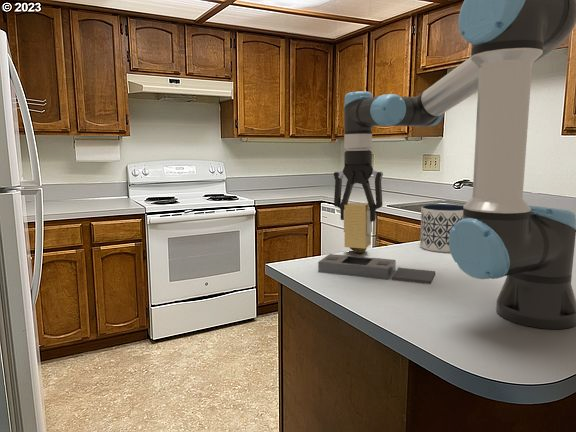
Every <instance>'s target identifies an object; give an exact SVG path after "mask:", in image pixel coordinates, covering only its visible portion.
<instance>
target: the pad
mask: <svg viewBox="0 0 576 432" xmlns="http://www.w3.org/2000/svg"><path fill="white" fill-rule="evenodd" d="M435 275H436V270H427V269H426V270H425V269H417V268H416V269H415V268H407V267H398V268H397V270H395V271H394V272H393V274H392V275H391V280H392V281H399V282H408V283H418V284H424V285H425V284H427V285H431V284H432V281H433V279H434V277H435Z"/></svg>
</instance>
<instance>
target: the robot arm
mask: <svg viewBox="0 0 576 432" xmlns="http://www.w3.org/2000/svg"><path fill="white" fill-rule="evenodd" d="M575 26H576V0H464V1H463V3H462V4H461V8H460V12H459V15H458V30H459V33H460V35H461V36H462V38H463V40H464V41H466V42H467V43H469V44H471V48H470V49H471V50H470V56H469V58H467V59H466V60H465V61H463V62H461V64H459V65H458V66H456V67H455V68H454V69H452V70H451V71H450V72H448V73H446V75H444V76H443V77H441V78H440V79H439V80H437V81H436V82H435V83H433V84H432V85H431V86H430V87H428V88H427V89H425V90H423V91H422V92H421V93H420V94H418V95H417V96H400V95H399V94H396V93H389V94H388V93H385V94H381V95H378V96H373V94H372V92H370V91H351V92H347V93H346V94H345V96H344V103H343V105H344V106H343V123H344V124H343V126H344V127H343V128H344V131H343V132H344V140H343V141H344V143H343V144H344V145H343V147H344V149H345V151H344V152H343V153H344V154H343V155H344V159H343V160H344V163H343V164H344V166H343V169H342V170H340V171H335V172H333V177H334V197H333V199H334V200H333V206H334V207H335V208H338V209H340V220H341V221H343V233H345V221H344V205H345V204H348V203H349V200H350V196H351V194H352V190H353V187H354V185H355V184H359V185H361V186H362V188H363V190H364V194H365V197H366V201H367V203H368V204H369V208H370V209H369V210H367V234H370V233H371V234H372V233H373V222H375V221H376V220H377V217H376V211H377V209H380V208H382V207H383V192H382V191H383V190H382V189H383V188H382V179H383V175H384V173H383V171H377V170H374V168H373V165H372V163H373V152H372V150H371V149H372V148H373V146H372V145H373V127H374V128H375V127H421V128H426V127H432V126H437V125H438V124H439V123H441V120H442V119H443V118H444V116H445V113H446V112H447V111H449V110H451V109H453V108H454V107H456V106H458V104H460V103H462V102H463V101H465V100H467V99H468V98H470V97H472V96H473V95H475V94H477V100H476V101H477V104H476V105H477V106H476V123H475V141H474V142H475V143H474V159H473V160H474V161H473V175H472V176H473V178H472V180H473V181H472V196H471V198H470V199H469V200H468V201H467V202H465V203H464V205H462V206H463V219H462V220H460V221H458V222H457V223H456V224H455V225H454V227H452V229H451V231H450V234H449V248H450V252H451V253H450V255H451V257H452V259H453V261H454V262H455V263H456V264H457V266H458V268H459V270H461V271H462V272H463V273H464V274H466V275H468V276H469V277H471V278H474V279H477V280H487V279H488V280H489V279H491V280H496V279H501V278H503V277H505V280H504V283H503V285H502V287H501V290H500V292H499V293H498V296H497V298H496V303H495V305H496V306H495V311H496V313H497V314H498V315H499V316H500V317H502V318H504V319H505V320H507V321H510V322H513V323H515V324H519V325H522V326H525V327H526V326H527V327H532V328H538V329H547V330H549V329H550V330H560V329H561V330H562V329H570V328H572V327H575V326H576V297H575V292H574V289H573V286H572V277H573V265H574V254H575V246H576V244H575V242H576V213H574V212H573V211H571V210H570V209H569V210H568V209H561V208H554V207H546V206H536V205H528V203H526V202H525V200H524V199H523V198H524V197H523V195H524V183H525V167H526V155H527V153H526V152H527V139H528V127H529V125H528V124H529V112H530V99H531V87H532V86H531V84H532V72H533V71H532V69H533V64H534V63H535V62H537V61H538V60H540V59H541V58H543V57H546V56H547V55H548V54H549V53H551V52H553V51H554V50H555V49H557V47H559V46H560V45H561V44H562V43H563V42H564V41H565V40H566V39H568V37H569V36H570V35H571V33H572V32H573V30H574V29H575ZM344 176H345V178H346V179H347V180H346V185H345V186H346V187H345V189H344V192H343V195H342V184H343V178H344ZM371 176H372V177H373V179H374V191H375V197H374V195H373V192H372V189H371V185H370V181H369V179H370V178H371ZM374 198H375V199H374Z"/></svg>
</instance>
